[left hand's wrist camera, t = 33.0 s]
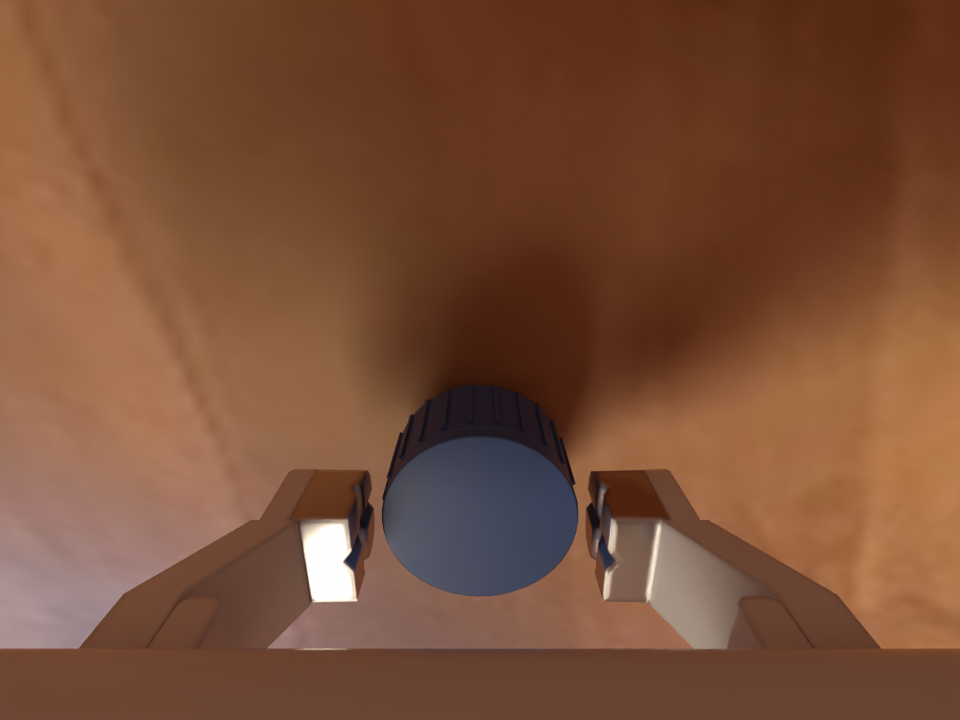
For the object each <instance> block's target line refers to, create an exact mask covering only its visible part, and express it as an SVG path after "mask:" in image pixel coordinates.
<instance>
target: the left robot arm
mask: <svg viewBox="0 0 960 720" xmlns="http://www.w3.org/2000/svg"><path fill="white" fill-rule="evenodd" d="M371 490H372V487H371V478H370V474H369V472H368V471H367V470H317V469H294V470H292V471H290V472H289V473H288V474H287V476H286V478H285V479H284V481H283V482H282V484H281V486H280V487H279V489H278V491H277V492H276V494H275V495H274V497H273V499H272V500H271V502H270V504H269V505H268V507H267V508H266V510H265V512H264V513H263V515H262V516H261V518H260V520H251V521H249V522H248V523H246V524H244V525H242V526H241V527H239V528H237V529H235V530H234V531H232V532H230V533H228V534H227V535H225V536H223V537H222V538H220V539H218V540H216V541H215V542H213V543H211V544H209V545H208V546H206V547H204V548H203V549H201V550H199V551H197V552H196V553H194V554H192V555H190V556H189V557H187V558H185V559H183V560H182V561H180V562H178V563H177V564H175V565H173V566H171V567H170V568H168V569H166V570H164V571H163V572H161V573H159V574H158V575H156V576H154V577H152V578H151V579H149V580H147V581H145V582H144V583H142V584H140V585H138V586H137V587H135V588H133V589H132V590H130V591H128V592H126V593H125V594H123V595H122V597H121V598H120V599H119V600H118V602H117V603H116V604H115V605H114V606H113V608H112V609H111V610H110V611H109V612H108V614H107V615H106V616H105V617H104V619H103V620H102V621H101V622H100V623H99V625H98V626H97V627H96V628H95V629H94V631H93V632H92V633H91V634H90V635H89V637H88V638H87V639H86V640H85V642H84V643H83V644H82V645H81V646H80V648H79V649H0V720H960V649H881V648H880V646H879V645H878V644H877V643H876V642H875V640H874V639H873V638H872V637H871V636H870V634H869V633H868V632H867V631H866V629H865V628H864V627H863V626H862V625H861V623H860V622H859V621H858V620H857V618H856V617H855V616H854V615H853V614H852V612H851V611H850V610H849V609H848V607H847V606H846V605H845V604H844V603H843V601H842V600H841V599H840V598H839V596H838V595H837V594H835V593H833V592H831V591H830V590H828V589H826V588H825V587H823V586H821V585H819V584H818V583H816V582H814V581H812V580H811V579H809V578H807V577H806V576H804V575H802V574H800V573H799V572H797V571H795V570H793V569H792V568H790V567H788V566H787V565H785V564H783V563H781V562H780V561H778V560H776V559H774V558H773V557H771V556H769V555H768V554H766V553H764V552H762V551H761V550H759V549H757V548H756V547H754V546H752V545H750V544H749V543H747V542H745V541H743V540H742V539H740V538H738V537H737V536H735V535H733V534H731V533H730V532H728V531H726V530H724V529H723V528H721V527H719V526H718V525H716V524H714V523H712V522H711V521H709V520H700V518H699V517H698V515H697V513H696V512H695V510H694V509H693V507H692V505H691V504H690V502H689V501H688V499H687V497H686V496H685V494H684V493H683V491H682V489H681V488H680V486H679V485H678V483H677V481H676V480H675V478H674V477H673V475H672V473H671V472H670V471H669V470H667V469H653V470H628V471H591V474H590V477H589V486H588V490H589V493H590V497H591V500H592V502H591V503H590V504H589V506H588V507H587V508H586V538H587V544H588V549H589V553H590V556H591V557H592V558H593V559H595V560H596V570H595V575H596V578H597V582H598V585H599V588H600V592H601V595H602V599H603V601H619V602H650V604H649V605H650V606H651V607H652V608H653V609H654V610H655V611H656V612H657V613H658V614H659V615H660V616H661V617H663V618H664V619H665V620H666V621H667V622H668V623H669V624H670V625H671V626H672V627H673V628H674V629H675V630H676V631H677V632H678V633H679V634H680V635H681V636H682V637H683V638H684V639H685V640H686V641H687V642H688V643H689V644H690V645H691V646H692V647H693V648H694V649H266V648H267V647H268V646H269V645H270V644H271V643H272V642H273V641H275V640H276V639H277V638H278V637H279V636H280V635H281V634H282V633H283V632H284V631H285V630H286V629H287V628H288V627H289V626H290V625H291V624H292V623H293V622H294V621H295V620H296V619H297V618H298V617H299V616H300V615H301V614H302V613H303V612H304V611H305V610H306V609H307V608H308V607H309V606H310V602H340V601H357V599H358V595H359V592H360V588H361V585H362V581H363V578H364V574H365V571H364V560H365V559H367V558H368V557H369V556H370V553H371V549H372V545H373V537H374V508H373V507H372V506H371V505H370V503H369V502H368V500H369V496H370V493H371Z"/></svg>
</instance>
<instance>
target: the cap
mask: <svg viewBox="0 0 960 720" xmlns="http://www.w3.org/2000/svg"><path fill="white" fill-rule="evenodd" d="M387 478H388V480H387V484H386V487H385V490H384V494H383V500H384V501H383V507H382V523H383V529H384V533H385V536H386V539H387V542H388V544H389V546H390V548H391V550H392V552H393V553H394V555H395V556H396V558H397V559H398V560H399V561H400V562H401V564H402V565H403V566H404V567H405V568H406V569H407V570H408V571H410V572H411V573H412V574H413V575H414V576H416V577H417V578H419V579H420V580H422V581H424V582H426V583H427V584H429V585H431V586H433V587H436V588H439V589H441V590H444V591H447V592H451V593H455V594H461V595H467V596H493V595H500V594H505V593H509V592H513V591H516V590H519V589H522V588H525V587H527V586H529V585H531V584H533V583H535V582H537V581H538V580H540V579H541V578H543V577H544V576H546V575H547V574H548V573H549V572H551V571H552V570H553V569H554V568H555V567H556V566H557V565H558V564H559V563H560V562H561V561H562V559H563V558H564V556H565V555H566V554H567V552H568V550H569V548H570V546H571V545H572V543H573V540H574V537H575V534H576V530H577V524H578V506H577V505H578V503H577V499H576V496H575V492H574V489H573V485H574V484H575V481H574V477H573V474H572V471H571V467H570V464H569V460H568V457H567V454H566V450H565V447H564V443H563V440H562V438H559V437H558V433H557V430H556V426H555V423H554V421H553V419H552V420H550V419H549V417H548V416H547V415H546V414H545V413H544V412H543V411H542V409H541V408H540V405H539V404H538V403H537V404H535V403H533V402H532V401H530V400H529V399H527V398H526V397H524V396H522V395H521V393H520V392H517V393H516V392H513V391H511V390H508V389H504V388H500V387H498V386H497V385H494V386H484V385H476V386H475V385H473V384H471V385H469V386H466V387H460V388H456V389H453V390H450V389H448V390H446V392H444V393H442V394H440V395H438V396H436V397H435V398H433V399H431V400H430V401H429V400H427V401H425V404H424V405H423V406H422V407H421V408H420V409H419V410H418V411H417V412H416V413H415V414H414V415H412V414H411V415H410V417H409V420H408V424H407V426H406V428H405V430H404V431H403V433H401V432H400V434H399V438H398V441H397V445H396V448H395V451H394V455H393V458H392V462H391V465H390V468H389V472H388V475H387Z"/></svg>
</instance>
